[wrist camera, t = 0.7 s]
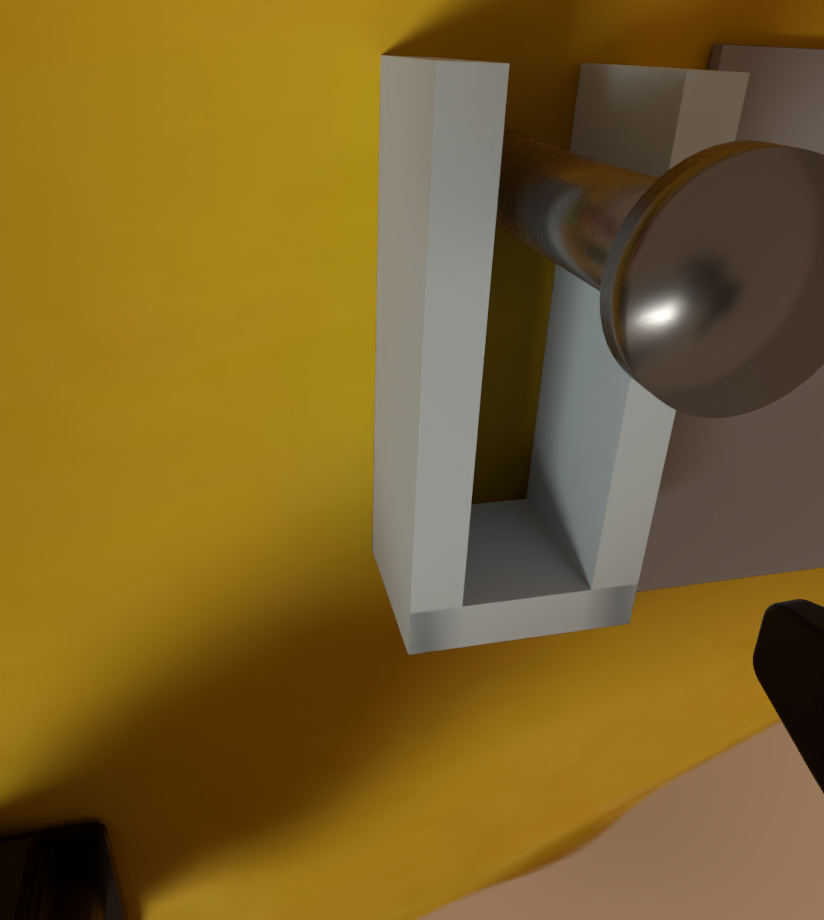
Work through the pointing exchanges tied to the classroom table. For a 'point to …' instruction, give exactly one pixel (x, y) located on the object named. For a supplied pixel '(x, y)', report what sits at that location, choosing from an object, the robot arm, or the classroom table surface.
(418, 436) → the c link
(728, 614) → the classroom table surface
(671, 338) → the dark grey knobbed post
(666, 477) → the mat
